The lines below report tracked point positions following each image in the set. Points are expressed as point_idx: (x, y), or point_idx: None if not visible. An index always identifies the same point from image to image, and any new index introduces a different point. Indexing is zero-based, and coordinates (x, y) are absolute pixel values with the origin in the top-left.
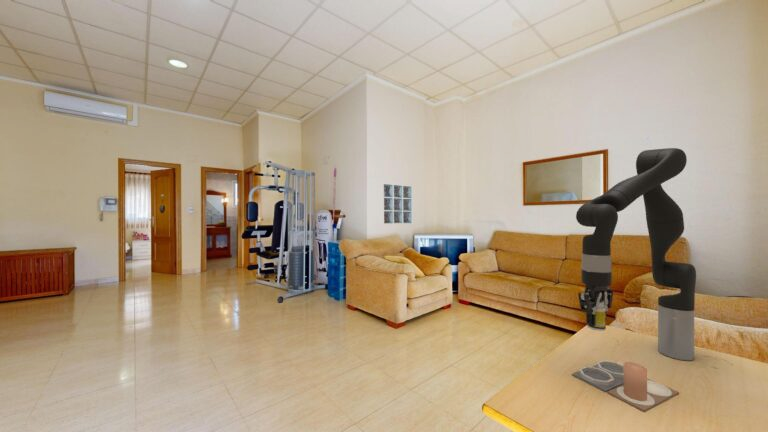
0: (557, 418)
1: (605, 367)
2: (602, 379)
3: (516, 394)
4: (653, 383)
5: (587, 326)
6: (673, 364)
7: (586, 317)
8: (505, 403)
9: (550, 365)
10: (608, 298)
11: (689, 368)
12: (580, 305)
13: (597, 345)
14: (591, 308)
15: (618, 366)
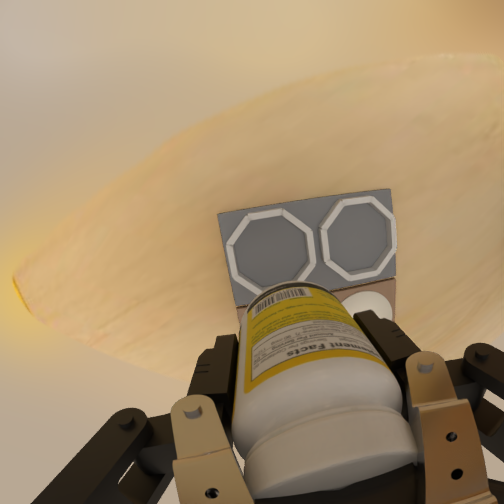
0: (77, 328)
1: (354, 214)
2: (280, 263)
3: (45, 249)
4: (381, 313)
5: (248, 306)
6: (493, 250)
7: (193, 378)
8: (24, 267)
9: (199, 147)
10: (499, 446)
11: (496, 271)
12: (85, 450)
13: (445, 111)
14: (239, 449)
15: (388, 229)
